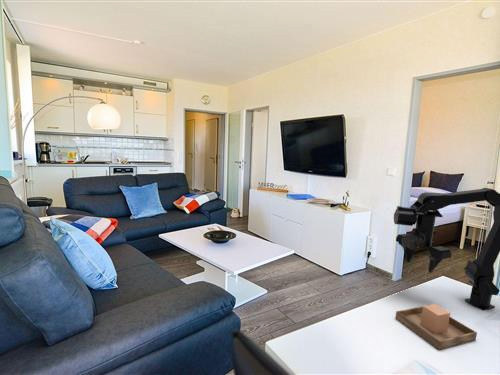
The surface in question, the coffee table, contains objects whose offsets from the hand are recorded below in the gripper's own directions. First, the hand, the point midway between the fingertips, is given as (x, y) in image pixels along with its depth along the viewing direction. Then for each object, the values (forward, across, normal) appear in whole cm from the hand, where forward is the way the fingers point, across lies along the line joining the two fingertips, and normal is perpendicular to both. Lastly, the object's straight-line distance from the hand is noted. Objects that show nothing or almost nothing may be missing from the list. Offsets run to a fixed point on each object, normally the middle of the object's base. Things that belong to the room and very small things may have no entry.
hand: (418, 267), depth 108 cm
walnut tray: (+11, +18, -13) cm, 24 cm away
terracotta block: (+10, +18, -13) cm, 24 cm away
